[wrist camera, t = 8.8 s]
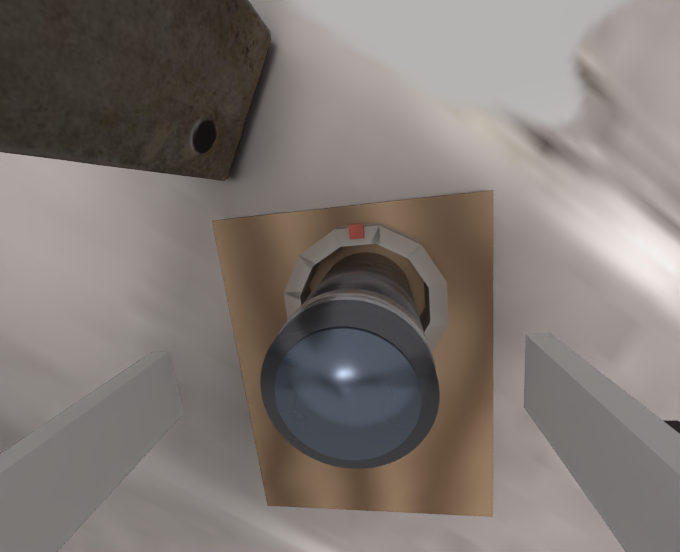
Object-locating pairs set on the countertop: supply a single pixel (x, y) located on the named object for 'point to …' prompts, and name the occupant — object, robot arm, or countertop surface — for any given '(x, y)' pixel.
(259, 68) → the vintage camera
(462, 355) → the mount board
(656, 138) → the countertop surface
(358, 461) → the lens
